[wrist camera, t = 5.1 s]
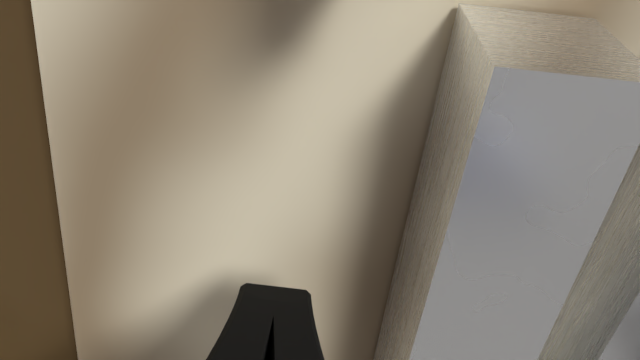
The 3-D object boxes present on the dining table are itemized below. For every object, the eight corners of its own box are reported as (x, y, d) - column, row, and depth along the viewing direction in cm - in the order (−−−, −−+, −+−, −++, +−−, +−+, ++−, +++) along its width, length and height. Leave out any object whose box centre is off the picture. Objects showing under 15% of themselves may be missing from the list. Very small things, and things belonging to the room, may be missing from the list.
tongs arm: (595, 18, 11) (702, 119, 8) (434, 447, 18) (456, 586, 15) (459, 3, 11) (512, 98, 8) (353, 441, 18) (358, 580, 15)
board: (1248, -369, 9) (1364, -386, 8) (598, 493, 22) (611, 527, 21) (-9, -628, 8) (-59, -688, 7) (105, 448, 21) (94, 482, 20)
